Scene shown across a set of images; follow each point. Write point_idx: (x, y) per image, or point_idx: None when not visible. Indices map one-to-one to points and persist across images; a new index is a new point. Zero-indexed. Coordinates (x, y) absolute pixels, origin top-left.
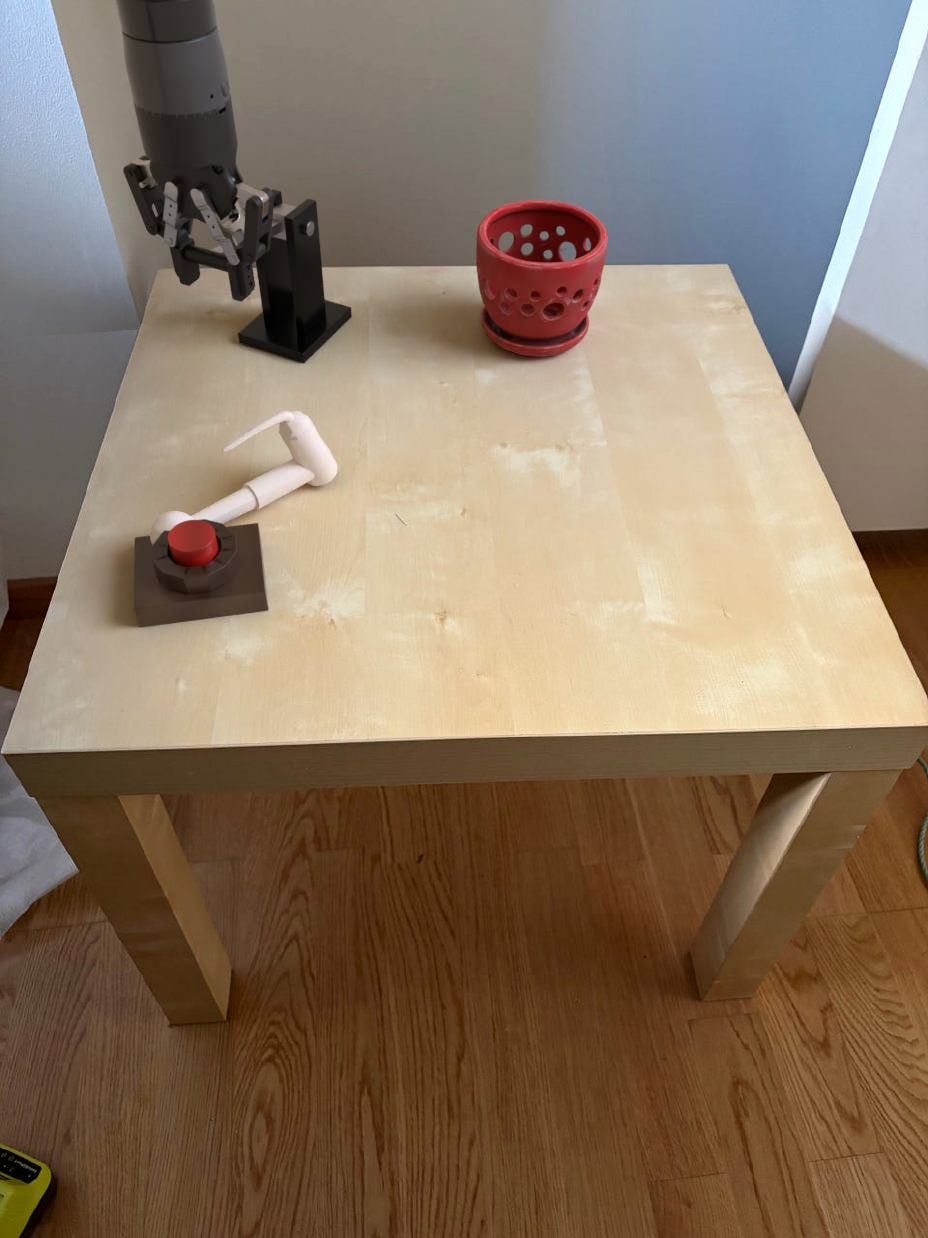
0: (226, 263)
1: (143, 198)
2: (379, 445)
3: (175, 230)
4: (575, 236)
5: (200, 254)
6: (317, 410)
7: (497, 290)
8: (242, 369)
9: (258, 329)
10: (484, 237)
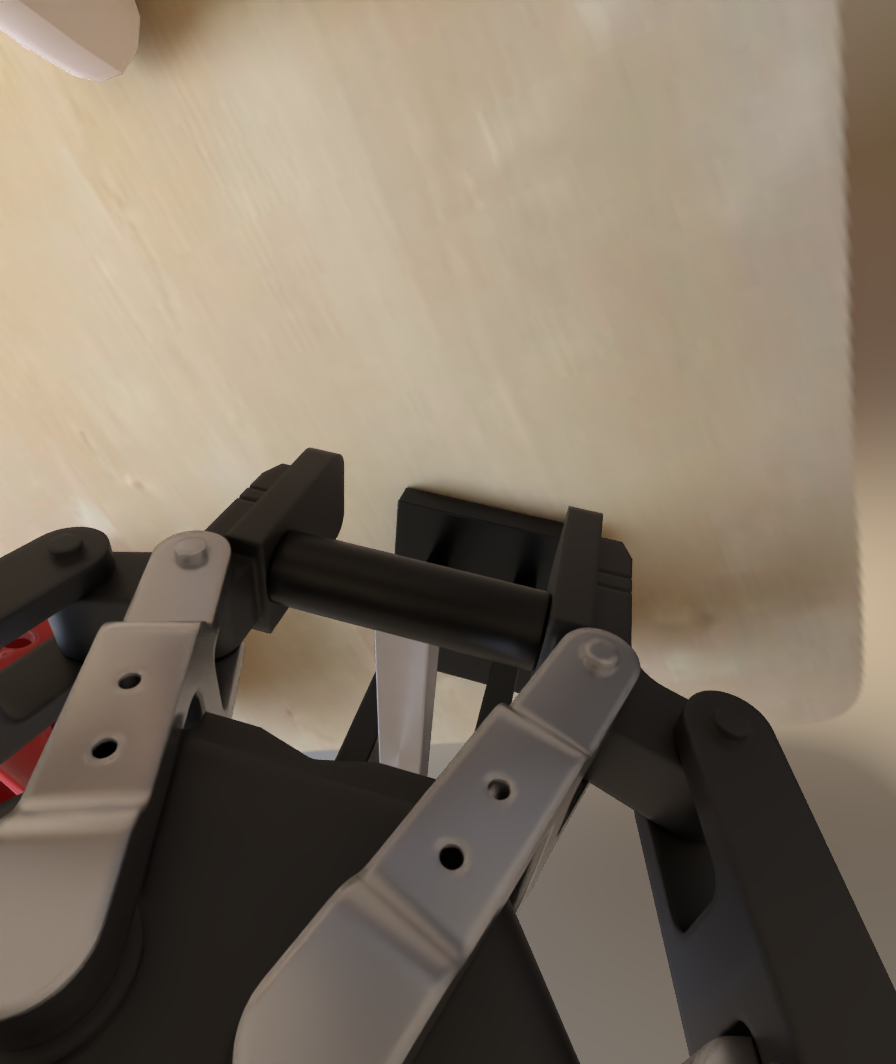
0: (290, 558)
1: (775, 949)
2: (95, 237)
3: (527, 701)
4: (3, 799)
5: (439, 603)
6: (287, 324)
7: (4, 667)
8: (535, 433)
9: (539, 564)
10: (2, 780)
